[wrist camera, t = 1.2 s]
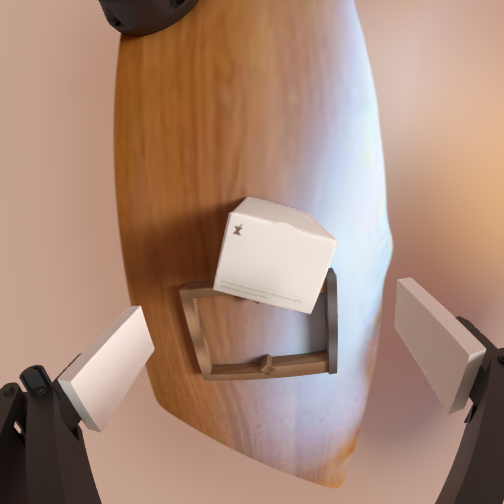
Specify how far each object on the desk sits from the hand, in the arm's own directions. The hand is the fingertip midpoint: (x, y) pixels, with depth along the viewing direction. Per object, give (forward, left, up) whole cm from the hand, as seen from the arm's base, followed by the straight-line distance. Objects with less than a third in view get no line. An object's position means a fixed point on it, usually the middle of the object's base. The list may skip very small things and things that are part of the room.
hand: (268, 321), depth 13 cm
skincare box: (0, 0, -23) cm, 23 cm away
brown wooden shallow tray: (+14, -3, -23) cm, 27 cm away
